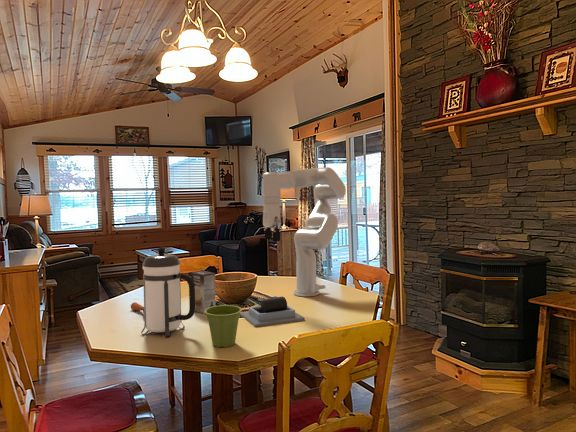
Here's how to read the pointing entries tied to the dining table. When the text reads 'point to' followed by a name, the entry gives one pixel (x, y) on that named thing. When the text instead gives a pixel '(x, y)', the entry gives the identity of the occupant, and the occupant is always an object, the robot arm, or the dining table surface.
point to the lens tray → (271, 317)
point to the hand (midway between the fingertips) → (272, 240)
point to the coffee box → (204, 290)
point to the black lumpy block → (272, 304)
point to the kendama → (137, 306)
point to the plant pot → (223, 324)
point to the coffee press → (164, 293)
